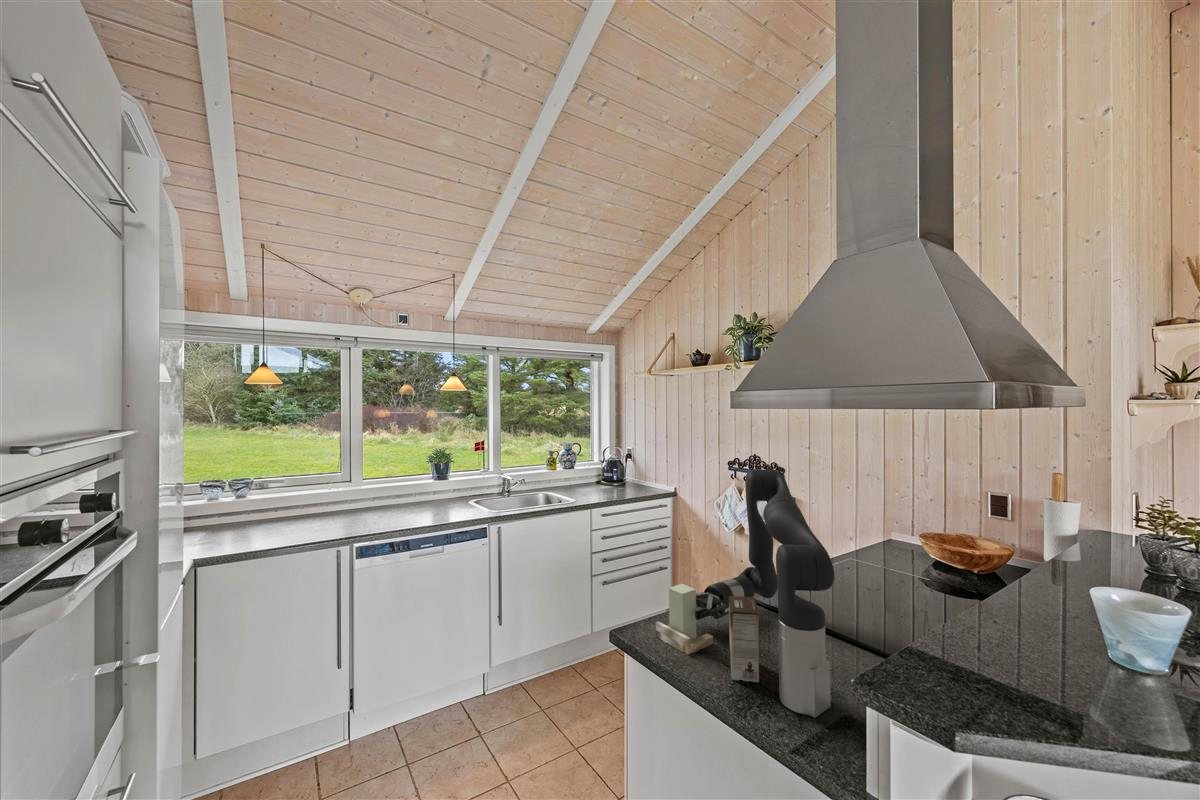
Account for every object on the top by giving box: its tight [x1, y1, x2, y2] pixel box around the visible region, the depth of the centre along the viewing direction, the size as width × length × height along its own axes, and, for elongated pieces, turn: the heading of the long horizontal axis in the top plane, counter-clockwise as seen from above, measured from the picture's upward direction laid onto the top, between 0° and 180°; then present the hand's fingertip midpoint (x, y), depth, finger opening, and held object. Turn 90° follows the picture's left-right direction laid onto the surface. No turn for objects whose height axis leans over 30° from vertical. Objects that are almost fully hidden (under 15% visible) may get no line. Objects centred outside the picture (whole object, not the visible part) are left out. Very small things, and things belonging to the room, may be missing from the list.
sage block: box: [668, 583, 697, 640], centre depth 131 cm, size 5×5×14 cm
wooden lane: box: [655, 620, 714, 656], centre depth 131 cm, size 12×9×4 cm
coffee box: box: [728, 596, 760, 683], centre depth 116 cm, size 9×6×16 cm
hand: (684, 610), depth 132 cm, fingers open, 8 cm apart
